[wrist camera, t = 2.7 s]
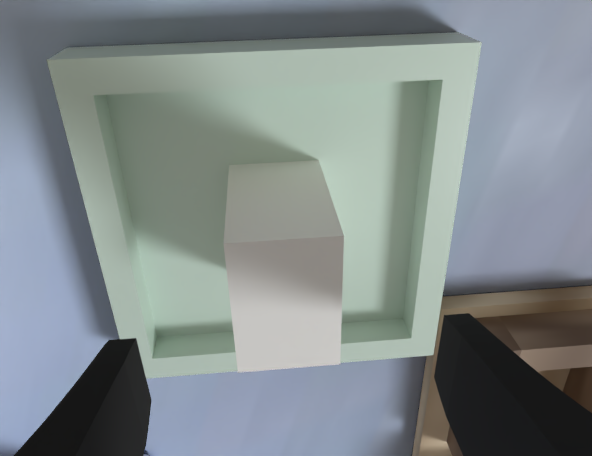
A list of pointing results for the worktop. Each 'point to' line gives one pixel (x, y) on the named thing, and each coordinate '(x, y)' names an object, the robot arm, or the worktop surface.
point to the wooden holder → (517, 349)
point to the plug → (283, 266)
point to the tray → (268, 149)
